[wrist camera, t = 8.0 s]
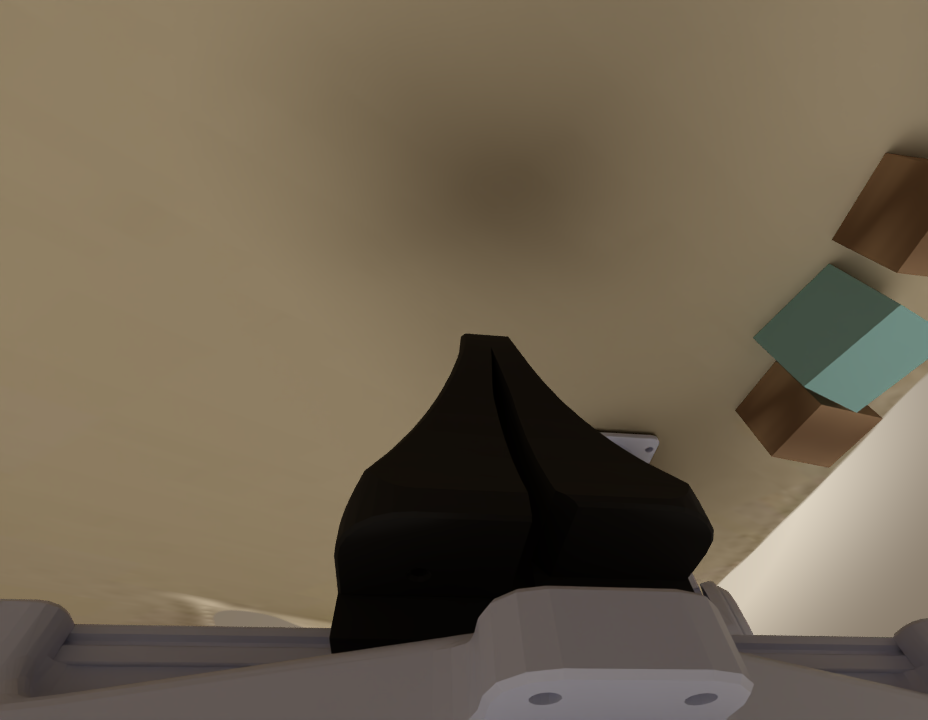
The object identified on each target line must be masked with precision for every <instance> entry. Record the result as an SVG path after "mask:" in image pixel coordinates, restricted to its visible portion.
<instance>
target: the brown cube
mask: <svg viewBox="0 0 928 720" xmlns="http://www.w3.org/2000/svg"><path fill="white" fill-rule="evenodd" d="M832 240H833V241H835V242H837V243H839V244H841V245H843V246H845V247H847V248H849V249H851V250H853V251H855V252H857V253H859V254H861V255H863V256H865V257H867V258H869V259H871V260H873V261H875V262H877V263H879V264H881V265H883V266H885V267H887V268H889V269H890V270H892V271H894V272H896V273H903V274H911V275H920V276H928V159H925V158H918V157H911V156H904V155H897V154H890V153H885V155H884V156H883V158H882V160H881V161H880V163H879V165H878V166H877V168H876V169H875V171H874V173H873V174H872V176H871V177H870V179H869V181H868V182H867V184H866V186H865V187H864V189H863V190H862V192H861V194H860V195H859V197H858V198H857V200H856V202H855V203H854V205H853V207H852V208H851V210H850V211H849V213H848V215H847V216H846V218H845V219H844V221H843V223H842V224H841V226H840V228H839V229H838V231H837V232H836V234H835V236H834V237H833V239H832Z"/></svg>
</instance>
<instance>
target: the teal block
mask: <svg viewBox="0 0 928 720" xmlns="http://www.w3.org/2000/svg"><path fill="white" fill-rule="evenodd" d="M753 338H754V339H755V340H756V341H757V342H758V343H759V344H760V345H761V346H762V347H763V348H764V349H765V350H766V351H767V352H768V353H769V354H770V355H771V356H772V357H773V358H774V359H776V360H777V361H778V362H779V363H780V364H781V365H782V366H783V367H784V368H785V369H786V370H787V371H788V372H789V373H790V374H791V375H792V376H793V377H794V378H795V379H796V380H797V381H798V382H800V383H801V384H802V385H803V386H804V387H806V388H808V389H810V390H812V391H814V392H816V393H818V394H820V395H822V396H824V397H826V398H828V399H830V400H832V401H834V402H836V403H838V404H840V405H842V406H844V407H846V408H848V409H850V410H852V411H854V412H856V413H857V412H858V411H860V410H861V409H862V408H864V407H865V406H866V405H868V404H869V403H870V402H872V401H873V400H874V399H875V398H877V397H878V396H879V395H881V394H882V393H883V392H885V391H886V390H887V389H889V388H890V387H891V386H893V385H894V384H895V383H897V382H898V381H899V380H901V379H902V378H903V377H905V376H906V375H907V374H909V373H910V372H911V371H913V370H914V369H915V368H916V367H918V366H919V365H920V364H922V363H923V362H924V361H926V360H927V359H928V321H926V320H924V319H923V318H921V317H920V316H918V315H916V314H915V313H913V312H912V311H910V310H909V309H907V308H905V307H904V306H902V305H901V304H899V303H897V302H895V301H894V300H892V299H890V298H888V297H887V296H885V295H883V294H881V293H880V292H878V291H876V290H874V289H873V288H871V287H869V286H867V285H866V284H864V283H862V282H860V281H859V280H857V279H855V278H853V277H852V276H850V275H848V274H847V273H845V272H843V271H841V270H840V269H838V268H836V267H834V266H833V265H831V264H828V265H827V266H826V267H825V268H824V269H823V270H822V271H821V272H820V273H819V274H818V275H817V276H816V277H815V278H814V279H813V280H812V281H811V282H810V283H809V284H808V285H807V286H806V287H805V288H803V289H802V290H801V291H800V292H799V293H798V294H797V295H796V296H795V297H794V298H793V299H792V300H791V301H790V302H789V303H788V304H787V305H786V306H785V307H784V308H783V309H782V310H781V311H780V312H779V313H778V314H777V315H776V316H775V317H774V318H773V319H772V320H771V321H770V322H769V323H768V324H767V325H766V326H765V327H764V328H763V329H762V330H761V331H759V332H758V333H757V334H756V335H755V336H754V337H753Z"/></svg>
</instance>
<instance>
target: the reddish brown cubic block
mask: <svg viewBox="0 0 928 720" xmlns="http://www.w3.org/2000/svg"><path fill="white" fill-rule="evenodd" d="M736 412H737V413H738V414H739V416H740V417H741V418H742V419H743V421H744V422H745V423H746V424H747V426H748V427H749V428H750V430H751V431H752V432H753V433H754V435H755V436H756V437H757V438H758V440H759V441H760V442H761V444H762V445H763V446H764V447H765V449H766V450H767V451H768V452H769V454H770V455H771V456H772V457H777V458H782V459H788V460H793V461H798V462H803V463H808V464H813V465H818V466H824V467H830V466H831V465H832V464H834V463H835V462H836V461H837V460H838V459H839V458H840V457H841V456H842V455H843V454H844V453H846V452H847V451H848V450H849V449H850V448H851V447H852V446H853V445H854V444H855V443H856V442H858V441H859V440H860V439H861V438H862V437H863V436H864V435H865V434H866V433H867V432H869V431H870V430H871V429H872V428H873V427H874V426H875V425H876V424H877V423H878V422H879V421H881V420H882V419H883V418H882V417H881V416H879V415H878V414H877V413H876V412H875V411H874V410H872V409H871V408H870V407H869V406H868V405H866V406H865V407H864V408H862V409H861V410H860V411H858V412H857V413H856V412H854V411H852V410H850V409H848V408H846V407H844V406H842V405H840V404H838V403H836V402H834V401H832V400H830V399H828V398H826V397H824V396H822V395H820V394H818V393H816V392H814V391H812V390H810V389H808V388H806V387H804V386H803V385H802V384H801V383H800V382H798V381H797V380H796V379H795V378H794V377H793V376H792V375H791V374H790V373H789V372H788V371H787V370H786V369H785V368H784V367H783V366H782V365H781V364H780V363H779V362H778V361H776V362H775V363H774V364H773V365H772V367H771V368H770V369H769V370H768V371H767V373H766V374H765V375H764V376H763V377H762V379H761V380H760V381H759V382H758V384H757V385H756V386H755V387H754V388H753V390H752V391H751V392H750V393H749V394H748V396H747V397H746V398H745V399H744V400H743V402H742V403H741V404H740V405H739V406H738V408H737V409H736Z"/></svg>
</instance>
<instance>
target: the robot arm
mask: <svg viewBox="0 0 928 720" xmlns="http://www.w3.org/2000/svg"><path fill="white" fill-rule="evenodd" d="M658 445H659V440H658V438H657V437H656V436H654V435H640V434H623V433H605V432H598V431H597V430H596V429H594V428H593V427H592V426H590V425H589V424H588V423H587V422H585V421H584V420H583V419H582V418H580V417H579V416H578V415H577V414H576V413H575V412H574V411H572V410H571V409H570V408H569V407H568V406H567V405H566V404H565V403H564V402H562V401H561V400H560V399H559V398H558V397H557V396H556V395H555V393H554V392H553V391H552V390H551V389H550V388H549V387H548V386H547V385H546V384H545V383H544V382H543V381H542V379H541V378H540V377H539V376H538V375H537V374H536V372H535V371H534V370H533V369H532V367H531V366H530V365H529V364H528V362H527V361H526V360H525V358H524V357H523V356H522V354H521V353H520V352H519V350H518V349H517V348H516V346H515V345H514V344H513V342H512V341H511V340H510V339H509V337H505V336H491V335H478V334H464V335H463V336H461V342H460V350H459V355H458V358H457V360H456V363H455V365H454V367H453V370H452V372H451V374H450V376H449V378H448V380H447V382H446V383H445V385H444V387H443V389H442V391H441V392H440V394H439V395H438V397H437V399H436V400H435V402H434V403H433V404H432V406H431V407H430V409H429V410H428V411H427V412H426V414H425V415H424V416H423V417H422V419H421V420H420V421H419V422H418V423H417V425H416V426H415V427H414V428H413V429H412V430H411V431H410V432H409V433H408V434H407V435H406V436H405V437H404V438H403V439H402V440H401V441H400V442H399V443H398V444H397V445H396V446H395V447H394V448H393V449H392V450H390V451H389V452H388V453H387V454H386V455H384V456H383V457H382V458H381V459H379V460H378V461H377V462H375V463H374V464H373V465H372V466H370V467H369V468H368V469H366V470H365V471H364V473H363V475H362V476H361V478H360V480H359V482H358V484H357V485H356V487H355V489H354V491H353V493H352V495H351V497H350V499H349V501H348V504H347V506H346V508H345V511H344V514H343V516H342V519H341V522H340V526H339V530H338V535H337V540H336V545H335V553H334V559H335V568H336V577H337V587H338V596H337V601H336V606H335V611H334V616H333V621H332V626H331V628H285V627H222V626H221V627H220V626H162V625H100V624H74V622H73V620H72V618H71V616H70V614H69V613H68V611H67V610H66V609H64V608H63V607H62V606H60V605H59V604H56V603H53V602H50V601H44V600H30V599H0V720H928V618H926V619H920V620H917V621H913V622H911V623H909V624H907V625H905V626H904V627H902V628H901V629H900V630H899V631H897V632H896V633H895V634H894V637H836V636H834V637H833V636H831V637H830V636H776V635H774V636H773V635H753V633H752V631H751V629H750V627H749V625H748V623H747V622H746V620H745V618H744V616H743V614H742V612H741V611H740V609H739V607H738V606H737V604H736V602H735V600H734V599H733V597H732V596H731V595H730V593H729V592H727V591H726V590H724V589H722V588H721V587H719V586H716V585H715V583H714V582H712V581H707V582H704V583H701V584H700V586H701V589H702V592H703V595H704V596H703V595H702V593H701V591H700V589H699V586H698V584H697V582H696V580H695V578H694V576H693V574H692V572H693V571H694V569H695V568H696V567H697V565H698V564H699V563H700V561H701V560H702V559H703V557H704V556H705V555H706V553H707V551H708V549H709V547H710V545H711V543H712V541H713V533H714V530H713V527H712V525H711V523H710V521H709V519H708V517H707V515H706V514H705V512H704V510H703V508H702V506H701V504H700V502H699V500H698V499H697V497H696V496H695V494H694V492H693V491H692V489H691V488H690V486H689V484H687V483H686V482H684V481H682V480H680V479H678V478H676V477H674V476H672V475H670V474H668V473H666V472H664V471H662V470H660V469H658V468H656V467H654V466H652V465H650V464H649V463H650V461H651V459H652V457H653V455H654V453H655V451H656V449H657V447H658ZM648 447H649V448H648Z"/></svg>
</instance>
